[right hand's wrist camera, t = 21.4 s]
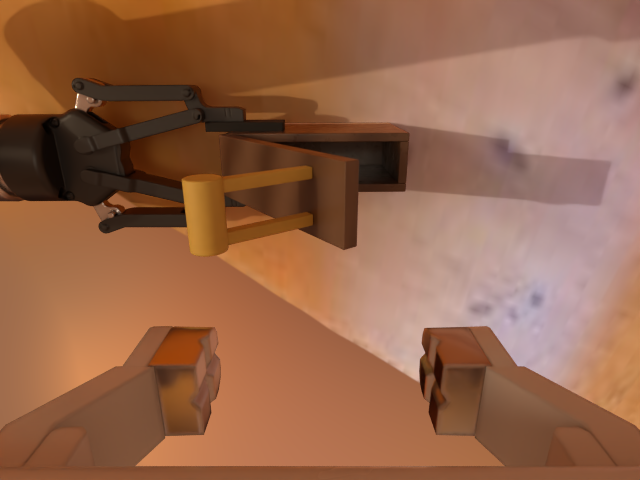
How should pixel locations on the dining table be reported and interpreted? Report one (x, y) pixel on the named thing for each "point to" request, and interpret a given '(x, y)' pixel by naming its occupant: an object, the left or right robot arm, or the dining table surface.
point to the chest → (351, 148)
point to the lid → (272, 195)
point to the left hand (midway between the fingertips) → (284, 157)
